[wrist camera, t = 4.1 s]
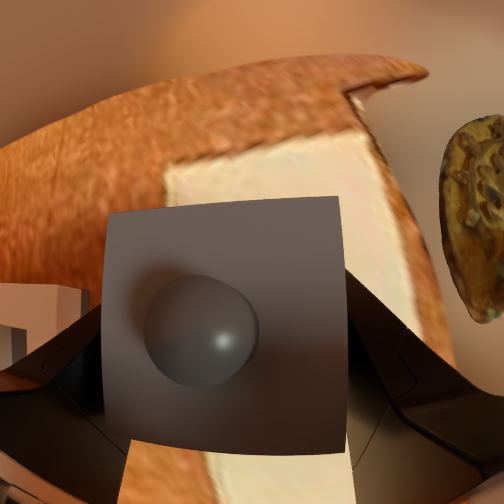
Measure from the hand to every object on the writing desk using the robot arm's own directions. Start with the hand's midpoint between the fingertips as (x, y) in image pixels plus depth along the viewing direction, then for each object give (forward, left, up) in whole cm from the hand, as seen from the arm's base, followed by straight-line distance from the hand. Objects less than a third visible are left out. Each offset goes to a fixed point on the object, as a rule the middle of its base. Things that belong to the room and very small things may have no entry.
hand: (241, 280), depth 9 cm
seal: (+2, -16, -7) cm, 17 cm away
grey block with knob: (-1, 0, -7) cm, 7 cm away
